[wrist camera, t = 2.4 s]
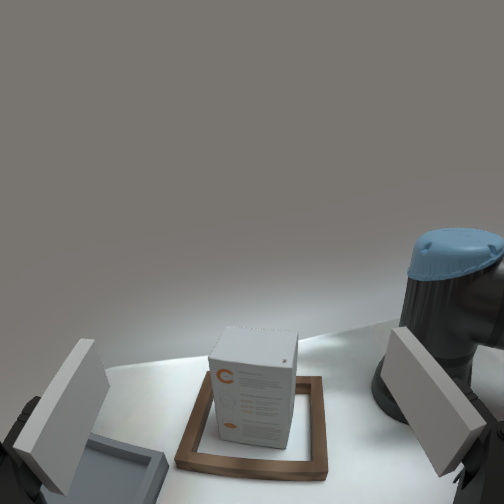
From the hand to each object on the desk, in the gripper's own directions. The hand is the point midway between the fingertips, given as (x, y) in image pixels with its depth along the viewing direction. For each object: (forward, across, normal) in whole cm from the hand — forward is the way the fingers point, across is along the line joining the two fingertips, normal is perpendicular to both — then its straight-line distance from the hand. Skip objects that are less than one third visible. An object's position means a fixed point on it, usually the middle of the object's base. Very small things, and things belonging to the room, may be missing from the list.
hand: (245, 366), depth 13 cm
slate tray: (+3, -17, -23) cm, 29 cm away
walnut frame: (+15, +2, -22) cm, 27 cm away
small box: (+15, +2, -23) cm, 27 cm away
